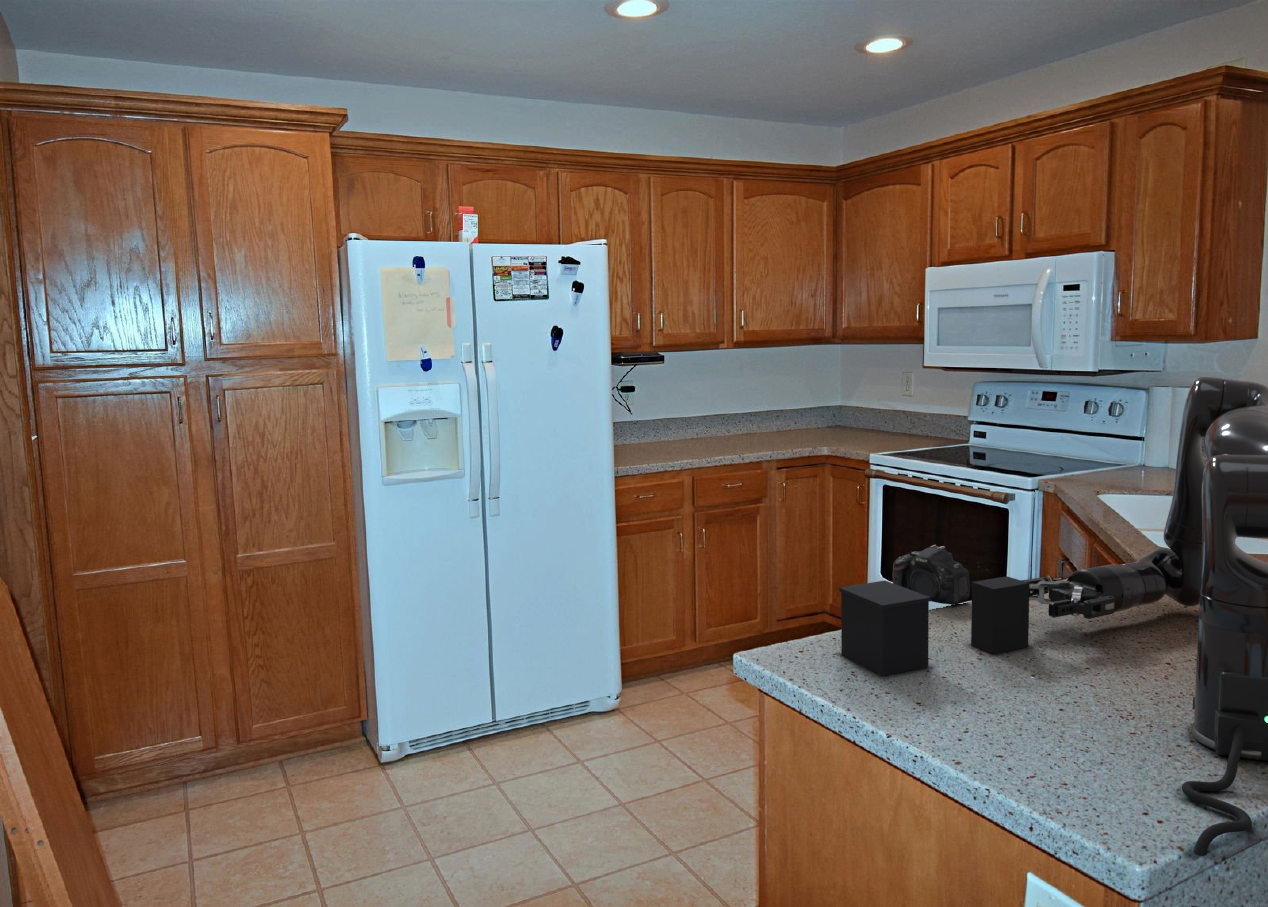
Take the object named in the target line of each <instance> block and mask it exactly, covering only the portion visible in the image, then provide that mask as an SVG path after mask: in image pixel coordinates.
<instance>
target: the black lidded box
mask: <svg viewBox="0 0 1268 907" xmlns="http://www.w3.org/2000/svg"><path fill="white" fill-rule="evenodd" d="M838 591H839V592H840V598H841V599H840V609H841V610H840V613H841V614H840V615H841V617H840V619H841V620H840V621H841V625H840V626H841V628H840V629H841V630H840V631H841V642H840V643H841V644H840V646H841V648H840V649H841V655H842V656H844V657H846V658H848V659H850V660H851V661H854V662H855V663H857V664H859V665H861V666H863V667H865V668H866V669H868V670H871V671H872V672H874V673H877V674H878V675H880V676H882V677H885V676H890V675H895V674H900V673H906V672H909V671H914V670H915V671H916V670H919V669H925V668H928V667H929V628H930V627H929V625H930V624H929V621H930V620H929V618H930V616H929V615H930V614H929V613H930V612H929V611H930V610H929V609H930V602H931V597H929V596H926V595H923V594H920V593H918V592H915V591H912V590H910V589H907V588H904V587H901V586H899V585H896V584H893V582H890V581H888V580H878V581H871V582H866V583H860V584H853V585H847V586H841V587H839V588H838Z"/></svg>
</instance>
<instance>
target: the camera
mask: <svg viewBox="0 0 1268 907" xmlns="http://www.w3.org/2000/svg"><path fill="white" fill-rule="evenodd" d="M892 583H893V584H896V585H899V586H901V587H904V588H907V589H910V590H912V591H915V592H918V593H920V594H923V595H926V596H929V597H931V601H930V602H933V603H936V604H941V605H942V604H943V605H952V606H953V605H957V604H959V603H961V602H965V601H966V600H968V599H969V598H970V571H969V570H968V569H967V568H965V567H964V566H963V564H962V563H960V562H958V561H956V560H954V558H953V553H952V552H948V551H947V549H946V546H945V545H942V546H937V544H933V545H931V546H928V547H927V548H925V549H923V550H921V551H910V552H909V553H907V554H904V555H902V556H899V557H898V558H896V559H895V561H894V562H893V564H892Z"/></svg>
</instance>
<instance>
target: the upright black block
mask: <svg viewBox="0 0 1268 907" xmlns="http://www.w3.org/2000/svg"><path fill="white" fill-rule="evenodd" d="M1021 580H1022V579H1018V578H1014V577H1012V576H1008V575H1007V576H1001V577H995V578H989V579H982V580H976V581H971V615H970V616H971V617H970V618H971V620H970V622H971V623H970V624H971V626H970V636H971V637H970V646H972V647H975V648H977V649H979V650H982V651H984V652H987V653H990V654H991V655H994V654H999V653H1005V652H1010V651H1014V650H1019V649H1025V648H1028V647H1029V630H1030V628H1029V626H1030V600H1029V589H1030V583H1028V582H1024V581H1021Z"/></svg>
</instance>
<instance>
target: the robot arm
mask: <svg viewBox="0 0 1268 907" xmlns="http://www.w3.org/2000/svg"><path fill="white" fill-rule="evenodd" d="M1181 417H1182V418H1181V424H1180V429H1179V438H1178V439H1179V440H1178V447H1177V454H1176V463H1175V473H1174V474H1175V475H1174V484H1173V486H1174V487H1173V492H1172V497H1171V503H1170V507H1169V511H1168V515H1167V518H1166V521H1165V526H1164V530H1163V541H1164V544H1165V545H1166V546H1167V547H1168V548H1158V549H1154V550H1153V551H1151V552H1150V553H1148V554H1146V555H1145V556H1143V557H1141V558H1139V559H1138V560H1136V561H1134V562H1128V563H1123V564H1122V563H1121V564H1106V565H1100V566H1094V567H1088V568H1082V569H1078V570H1074V571H1073V572H1072V573H1071V574H1070V575H1069V576H1068V578H1067V579H1066V580H1063V579H1061V580H1057V581H1049V580H1050V579H1049V577H1047V576H1043V577H1035V578H1028V579H1020V580H1021V581H1024V582H1028V583H1030V589H1029V601H1035V602H1038V603H1039V604H1040V605H1048V616H1049V617H1050V618H1060V617H1065V616H1071V617H1072V616H1073V617H1079V616H1081V615H1082V616H1083V618H1084V619H1086V620H1090V619H1091V620H1092V619H1095V618H1099V617H1104V616H1105V617H1106V616H1108V615H1112V614H1113V615H1114V614H1115V613H1118V612H1124V611H1126V610H1130V609H1132V608H1136V607H1140V606H1146V605H1151V604H1155V603H1157V602H1159V601H1160V600H1162V598H1164V597H1165V595H1166V596H1167V597H1168V598H1170V599H1171V600H1173V601H1175V602H1176V603H1178V604H1179V605H1182V606H1184V607H1196V606H1198V619H1197V620H1198V622H1197V623H1198V624H1197V646H1196V664H1195V665H1196V667H1195V688H1194V696H1193V697H1192V710H1194V714H1193V723H1192V736H1193V737H1194V738H1195V740H1196V741H1197V742H1199V743H1201V744H1202V745H1204V746H1206V747H1208V748H1209V749H1212V750H1214V751H1215V753H1216V754H1217V755H1220V756H1225V757H1227V756H1228V759H1227V763H1226V767H1225V768H1226V769H1225V772H1224V775H1223V776H1222V777H1221V778H1220V779H1219V780H1216V781H1201V780H1200V781H1199V780H1187V781H1184V782H1183V783H1182V785H1181V791H1182V793H1183V794H1184V795H1185V796H1186V797H1187V798H1189V799H1190V800H1192V801H1193V802H1196V803H1198V804H1201V805H1204V806H1206V807H1210V808H1212V809H1215V810H1218V811H1220V812H1222V813H1225V814H1228V815H1230V816H1233V817H1235V818H1236V819H1238V820H1235V821H1233V820H1232V821H1224V822H1223V821H1222V822H1218V823H1215V824H1212V825H1210V826H1208V827H1207V828H1205V829H1204V830H1203V831H1202V832H1201V834H1200V835H1199V836H1198V838H1197V840H1196V843H1195V844H1194V848H1193V853H1194V855H1196V856H1200V857H1203V856H1206V855H1207V851H1208V849H1209V847H1210V845H1211V843H1212V842H1213V841H1214V840H1215V839H1216V838H1217V837H1219V836H1222V835H1225V834H1229V833H1239V832H1241V833H1242V832H1246V831H1247V832H1248V831H1249V830H1250V829H1251V828H1252V826H1253V821H1252V818H1251V817H1250V816H1249V814H1248V813H1247V812H1246V811H1245V810H1243V809H1242V808H1240V807H1238V806H1236V805H1235V804H1231V803H1229V802H1226V801H1223V800H1221V799H1219V798H1215V797H1212V796H1210V795H1207V794H1204V793H1201V792H1221V791H1225V790H1227V789H1228V788H1230V787H1231V786H1232V785H1233V783H1234V781H1235V779H1236V776H1237V772H1238V767H1239V762H1240V758H1242V759H1250V760H1258V761H1265V762H1268V562H1265V561H1263V560H1260V559H1258V558H1256V557H1254V556H1252V555H1251V554H1248V553H1247V552H1245V551H1244V550H1243V549H1241V548H1240V547H1239V546H1238V545H1237V544H1236V541H1237V540H1236V539H1237V538H1248V539H1264V540H1268V386H1267V385H1265V384H1263V383H1260V382H1255V381H1248V380H1247V381H1246V380H1239V379H1230V378H1221V377H1209V376H1208V377H1207V376H1200V377H1198V378H1196V379H1195V380H1194V381H1193V382H1192V384H1191V385H1190V388H1189V389H1188V392H1187V395H1186V398H1185V401H1184V406H1183V411H1182V416H1181ZM1203 439H1204V442H1203ZM1202 443H1203V444H1204V451H1205V455H1206V456H1205V457H1206V459H1207V462H1206V463H1205V461H1204V460H1205V459H1204V457H1203V451H1202ZM1046 594H1048V598H1045V595H1046ZM1191 907H1197V906H1195V905H1191Z"/></svg>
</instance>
